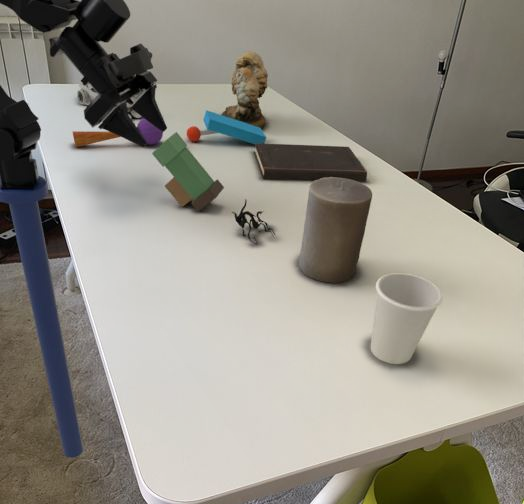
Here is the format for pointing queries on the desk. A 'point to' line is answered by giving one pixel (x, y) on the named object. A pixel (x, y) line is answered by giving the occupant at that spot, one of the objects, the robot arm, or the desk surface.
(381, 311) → the dixie cup
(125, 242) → the desk surface
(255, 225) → the creature
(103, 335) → the desk surface
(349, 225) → the pillar candle
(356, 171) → the hardcover book
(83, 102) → the car model
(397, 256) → the desk surface
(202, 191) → the green block pillar
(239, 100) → the brown mottled upright lump
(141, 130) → the kendama
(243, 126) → the lever
